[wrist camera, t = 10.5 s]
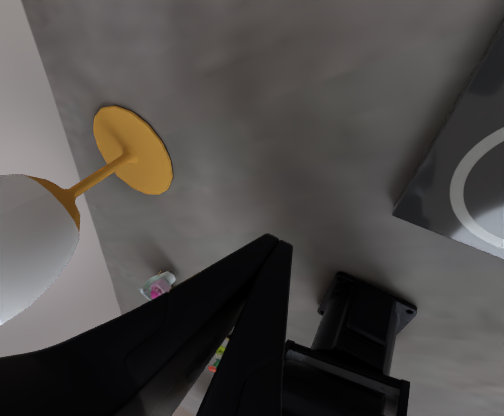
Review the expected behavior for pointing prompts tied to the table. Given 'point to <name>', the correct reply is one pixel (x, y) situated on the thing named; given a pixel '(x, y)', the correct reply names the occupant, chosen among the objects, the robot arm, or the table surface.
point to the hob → (465, 164)
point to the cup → (68, 207)
